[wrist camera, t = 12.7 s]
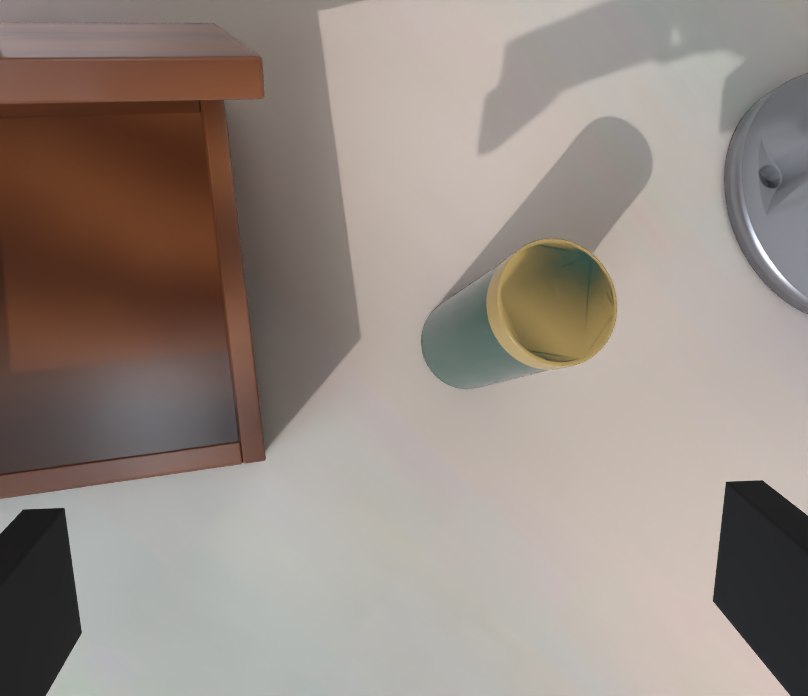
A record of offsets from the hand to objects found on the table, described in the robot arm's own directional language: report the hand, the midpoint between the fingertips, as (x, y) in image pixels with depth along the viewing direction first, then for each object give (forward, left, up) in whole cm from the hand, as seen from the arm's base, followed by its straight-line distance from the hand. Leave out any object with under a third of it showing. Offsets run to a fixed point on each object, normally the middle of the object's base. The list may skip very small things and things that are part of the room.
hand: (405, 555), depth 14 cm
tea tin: (-1, -11, -21) cm, 24 cm away
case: (+14, +1, -21) cm, 26 cm away
